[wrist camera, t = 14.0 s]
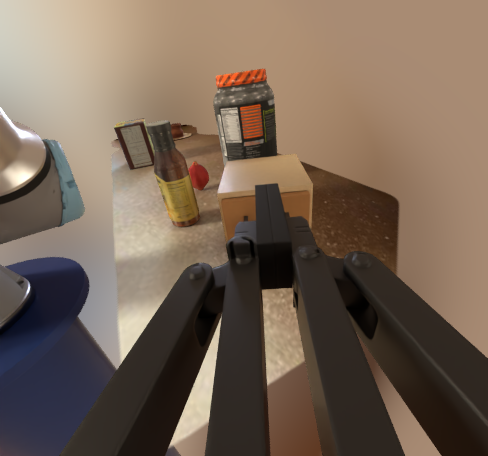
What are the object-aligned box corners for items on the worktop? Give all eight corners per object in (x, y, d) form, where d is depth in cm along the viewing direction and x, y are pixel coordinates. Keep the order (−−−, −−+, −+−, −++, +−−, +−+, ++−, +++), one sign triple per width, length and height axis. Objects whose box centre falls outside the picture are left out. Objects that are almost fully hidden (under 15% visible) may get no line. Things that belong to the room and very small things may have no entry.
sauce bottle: (177, 214, 55) (148, 121, 44) (203, 212, 54) (181, 117, 44) (167, 230, 49) (132, 127, 39) (196, 228, 48) (168, 123, 38)
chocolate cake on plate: (165, 136, 148) (162, 123, 145) (193, 132, 148) (191, 120, 144) (157, 142, 133) (153, 129, 129) (189, 138, 133) (186, 124, 129)
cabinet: (310, 245, 40) (312, 184, 34) (228, 251, 41) (216, 193, 35) (295, 202, 53) (295, 153, 47) (234, 208, 54) (226, 161, 48)
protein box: (155, 155, 107) (144, 118, 99) (157, 164, 94) (144, 121, 86) (131, 160, 104) (117, 122, 96) (129, 170, 92) (113, 126, 84)
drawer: (314, 263, 34) (317, 208, 30) (227, 269, 36) (217, 217, 31) (294, 204, 50) (294, 162, 46) (235, 209, 52) (229, 169, 47)
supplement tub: (255, 162, 82) (247, 71, 68) (289, 171, 70) (286, 65, 57) (216, 175, 75) (197, 78, 61) (245, 188, 63) (231, 71, 50)
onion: (187, 190, 67) (179, 162, 63) (205, 184, 69) (199, 156, 65) (195, 196, 63) (188, 166, 58) (214, 189, 65) (209, 160, 61)
